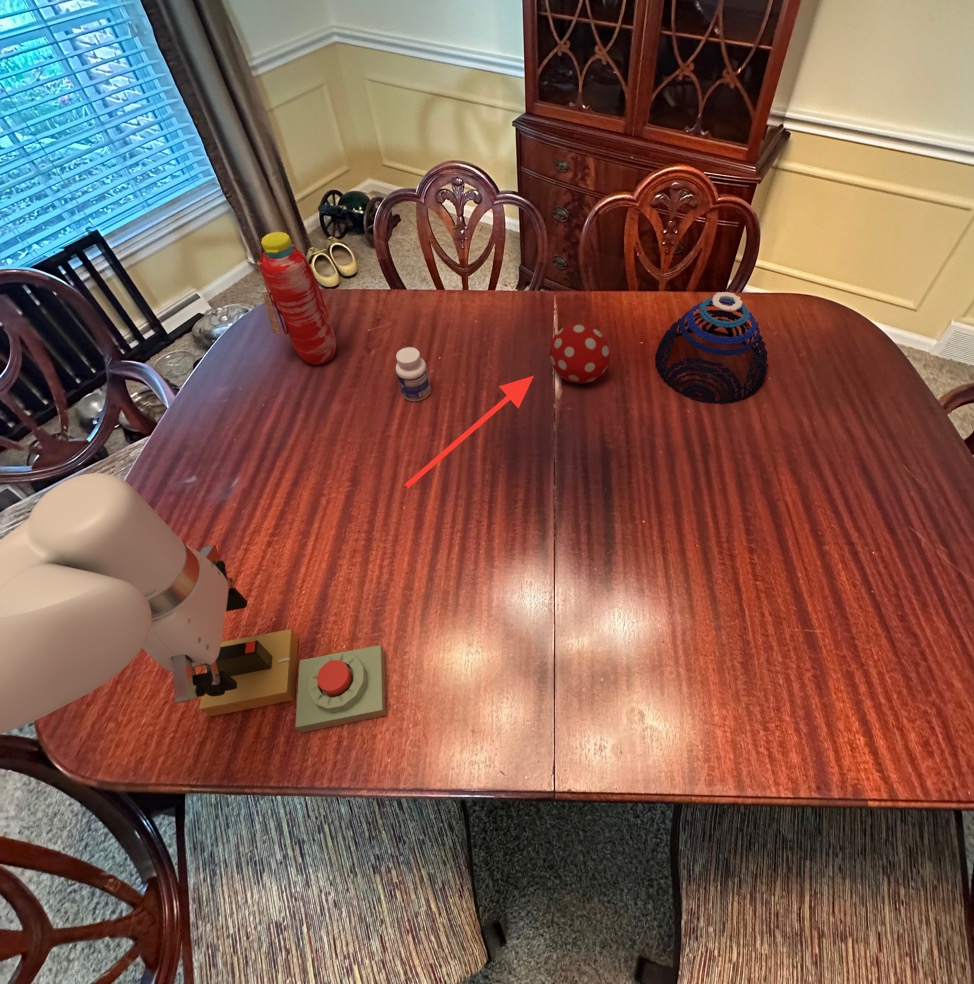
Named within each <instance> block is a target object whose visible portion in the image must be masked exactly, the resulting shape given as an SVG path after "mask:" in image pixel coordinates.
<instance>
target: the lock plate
mask: <svg viewBox="0 0 974 984" xmlns="http://www.w3.org/2000/svg"><path fill="white" fill-rule="evenodd" d="M256 640H258V641H259V642H260V643H261V644H262V645H263V647H264V648H265V649H266V650H267V651H268V652H269V653H270V654H271V655H272V667H271V669H266V670H261V671H256V672H251V673H245V674H240V675H235V676H230V677H232V678H233V679H234V680H235V681H236V682H237V688H236V689H234V690H228V691H225V694H224V695H220V696H209V695H207V694H205V695H204V696H201V697H200V700H199V705H198V710H199V711H201V712H202V713H204V714H205V715H206V716H207V717H211V718H212V717H216V716H220V715H221V716H222V715H226V714H231V713H237V712H241V711H245V710H246V711H247V710H251V709H256V708H261V707H265V706H271V705H272V706H273V705H276V704H281V703H286V702H291V701H295V700H296V699H295V697H296V683H297V682H296V681H297V670H298V669H297V668H298V654H299V640H300V638H299V637H298V636H297V634H296V633H295V632H294V631H293V629H291V628H290V629H285V630H278V631H273V632H267V633H261V634H256V635H252V636H251V635H250V636H246V637H239V638H235V639H229V640H223V641H221V647H224V646H229V645H235V644H240V643H245V642H251V641H256ZM204 673H207V670H206V668H205V670H204Z"/></svg>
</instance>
